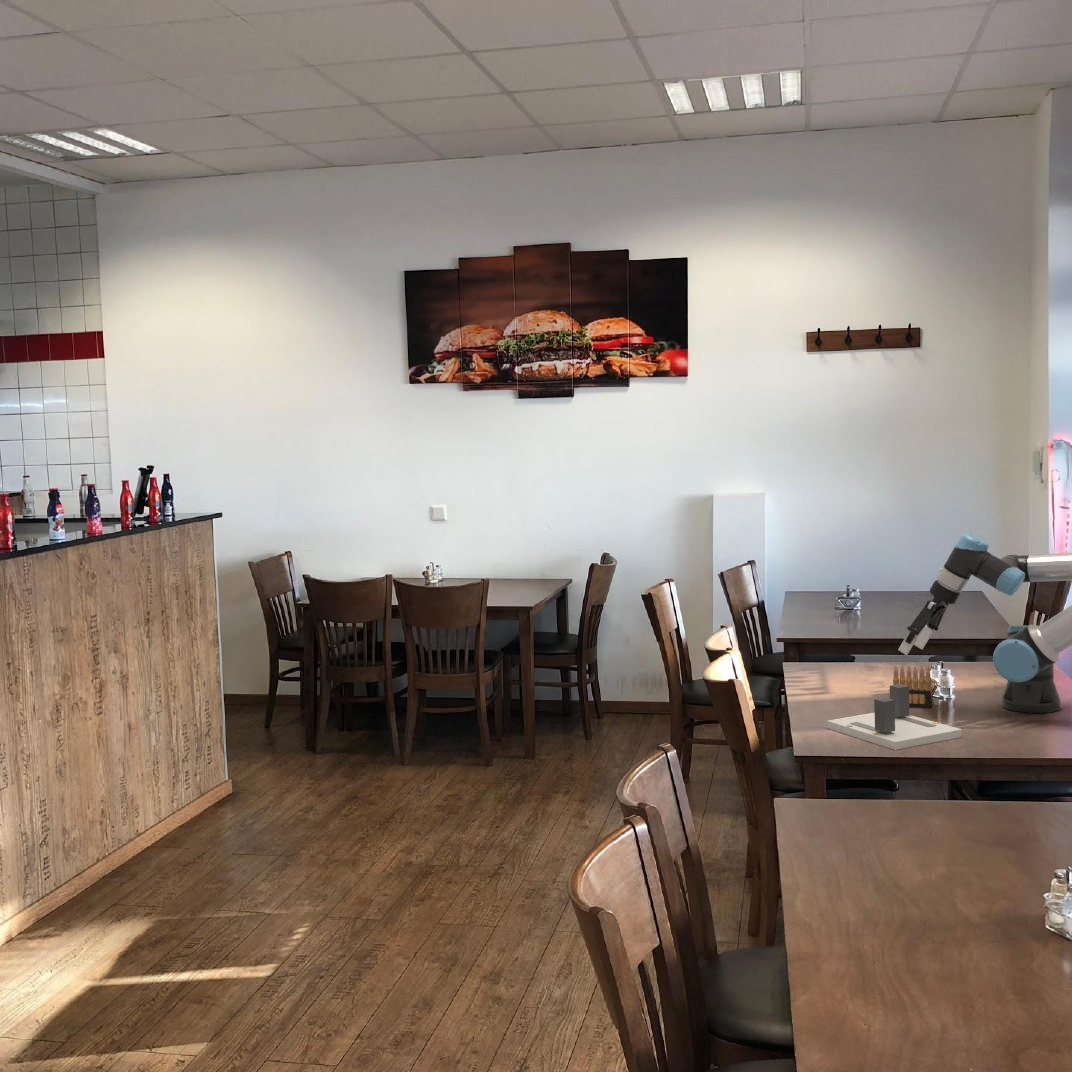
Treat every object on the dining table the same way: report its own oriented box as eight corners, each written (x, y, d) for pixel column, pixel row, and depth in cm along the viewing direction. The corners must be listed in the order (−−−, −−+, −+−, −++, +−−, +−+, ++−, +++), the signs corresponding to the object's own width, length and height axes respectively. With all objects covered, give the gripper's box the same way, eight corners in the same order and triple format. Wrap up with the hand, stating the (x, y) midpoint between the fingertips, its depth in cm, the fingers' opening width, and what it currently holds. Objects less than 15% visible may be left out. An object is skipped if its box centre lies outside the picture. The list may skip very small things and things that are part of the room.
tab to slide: (890, 714, 303) (889, 685, 302) (900, 713, 304) (899, 683, 304) (899, 717, 300) (898, 687, 299) (909, 715, 301) (908, 686, 300)
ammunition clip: (932, 707, 320) (931, 665, 319) (932, 708, 318) (931, 666, 317) (893, 705, 324) (892, 664, 323) (892, 706, 323) (891, 665, 322)
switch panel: (826, 728, 302) (826, 720, 302) (890, 716, 311) (890, 708, 311) (895, 749, 278) (894, 741, 278) (961, 737, 287) (961, 728, 287)
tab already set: (874, 730, 288) (874, 699, 287) (885, 728, 289) (884, 697, 289) (884, 732, 285) (883, 701, 284) (895, 731, 286) (894, 700, 286)
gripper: (949, 576, 324) (913, 637, 330) (922, 581, 304) (884, 647, 310) (973, 589, 320) (935, 651, 327) (946, 596, 300) (907, 662, 307)
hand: (910, 649), depth 319 cm, fingers open, 13 cm apart
